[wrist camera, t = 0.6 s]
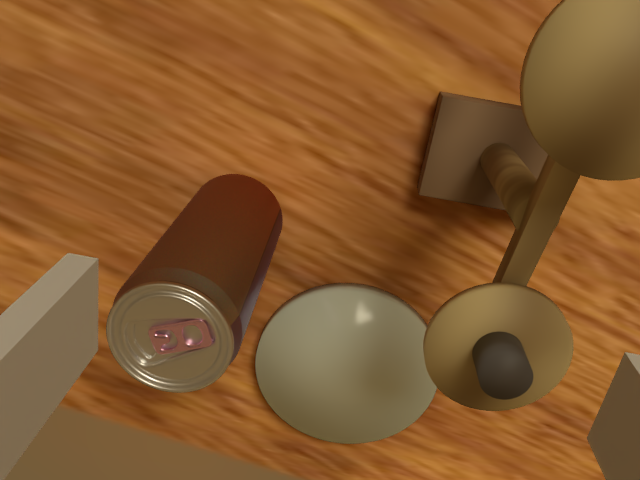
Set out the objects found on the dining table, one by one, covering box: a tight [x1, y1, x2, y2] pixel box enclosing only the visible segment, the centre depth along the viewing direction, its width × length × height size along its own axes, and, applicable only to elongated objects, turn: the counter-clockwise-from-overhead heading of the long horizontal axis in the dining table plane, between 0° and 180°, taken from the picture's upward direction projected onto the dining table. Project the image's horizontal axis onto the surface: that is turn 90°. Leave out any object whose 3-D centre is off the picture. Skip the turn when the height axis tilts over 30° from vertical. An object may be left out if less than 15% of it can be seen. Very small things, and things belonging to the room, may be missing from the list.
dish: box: [255, 283, 437, 444], centre depth 43 cm, size 13×13×1 cm
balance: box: [417, 0, 640, 411], centre depth 30 cm, size 8×21×15 cm, turn 171°
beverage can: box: [106, 174, 282, 393], centre depth 33 cm, size 6×6×15 cm
